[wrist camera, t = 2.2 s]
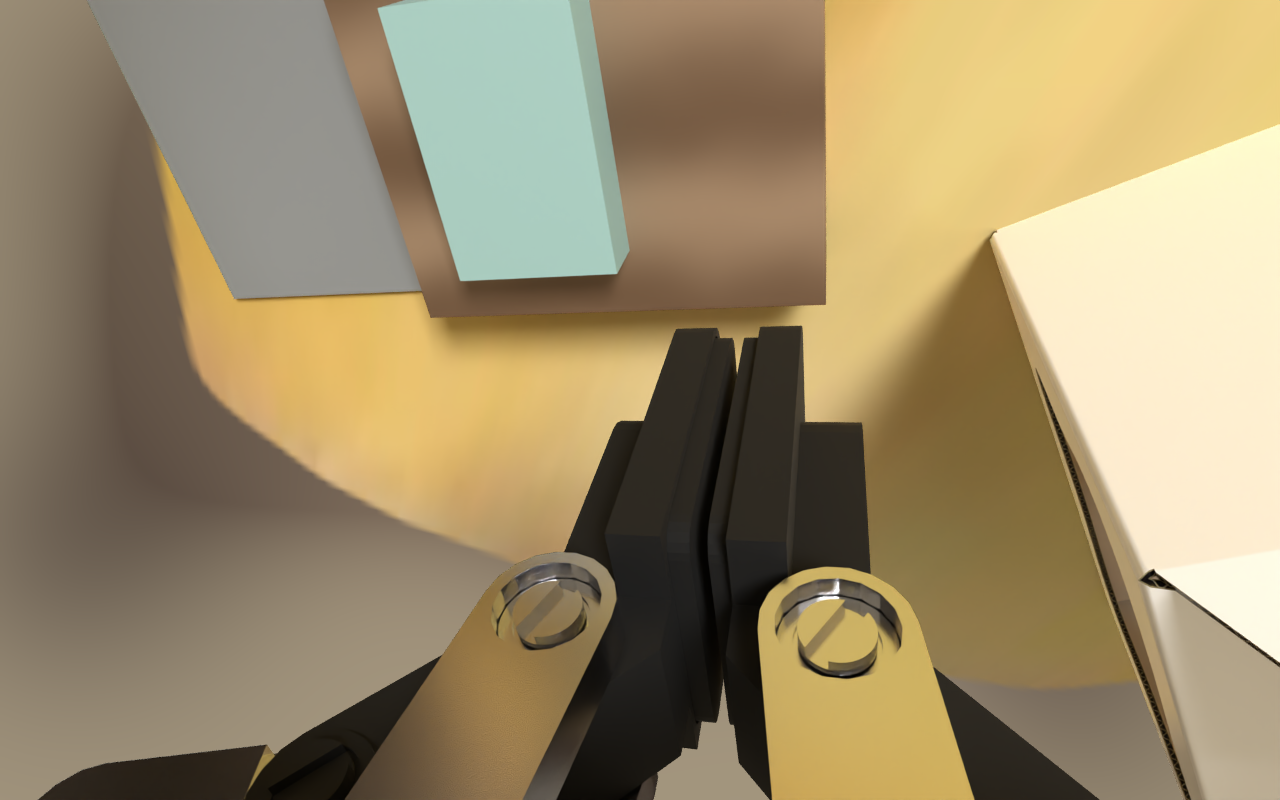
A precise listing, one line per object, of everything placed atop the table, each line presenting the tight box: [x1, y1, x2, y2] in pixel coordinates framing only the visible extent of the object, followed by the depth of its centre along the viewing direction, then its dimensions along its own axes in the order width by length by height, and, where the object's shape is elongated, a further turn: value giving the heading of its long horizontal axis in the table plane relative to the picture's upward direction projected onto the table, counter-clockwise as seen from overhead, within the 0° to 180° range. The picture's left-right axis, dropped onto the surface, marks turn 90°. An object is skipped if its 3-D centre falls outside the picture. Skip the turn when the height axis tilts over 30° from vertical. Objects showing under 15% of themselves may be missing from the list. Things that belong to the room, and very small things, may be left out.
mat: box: [87, 0, 422, 299], centre depth 32 cm, size 15×12×1 cm
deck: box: [324, 0, 826, 318], centre depth 27 cm, size 14×16×4 cm
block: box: [377, 0, 630, 281], centre depth 25 cm, size 9×6×2 cm, turn 8°
